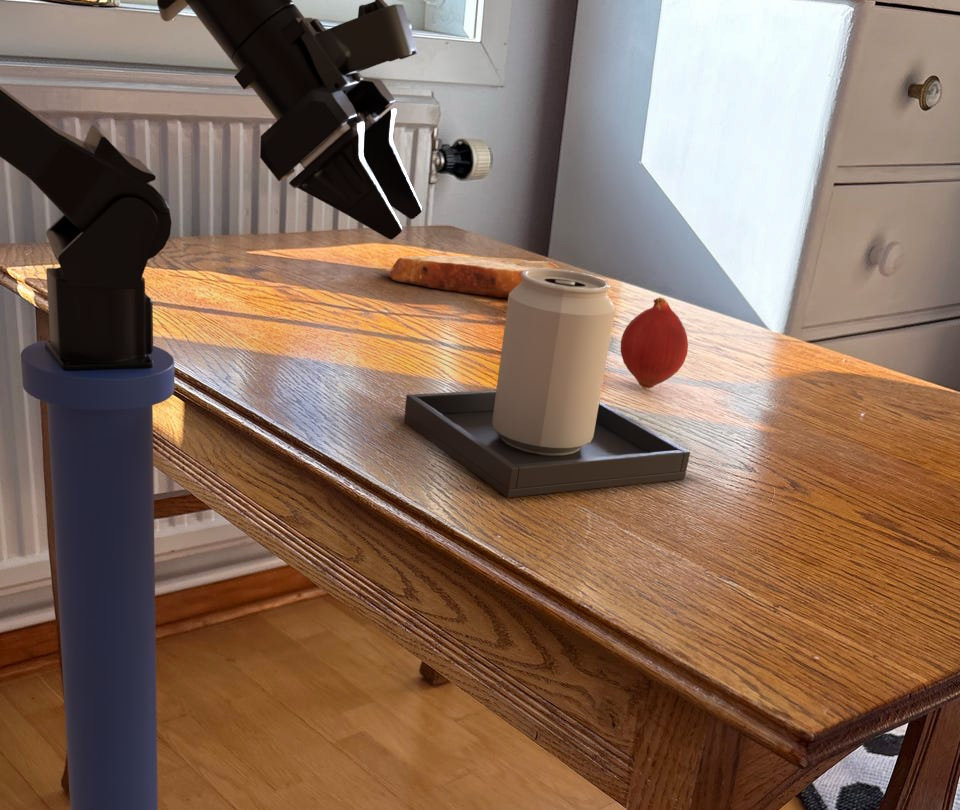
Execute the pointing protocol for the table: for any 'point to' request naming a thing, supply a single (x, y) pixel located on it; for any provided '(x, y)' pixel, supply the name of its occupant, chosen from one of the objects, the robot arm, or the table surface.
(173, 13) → the robot arm
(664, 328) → the onion
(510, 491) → the tray
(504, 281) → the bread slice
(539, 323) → the can
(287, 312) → the table surface
